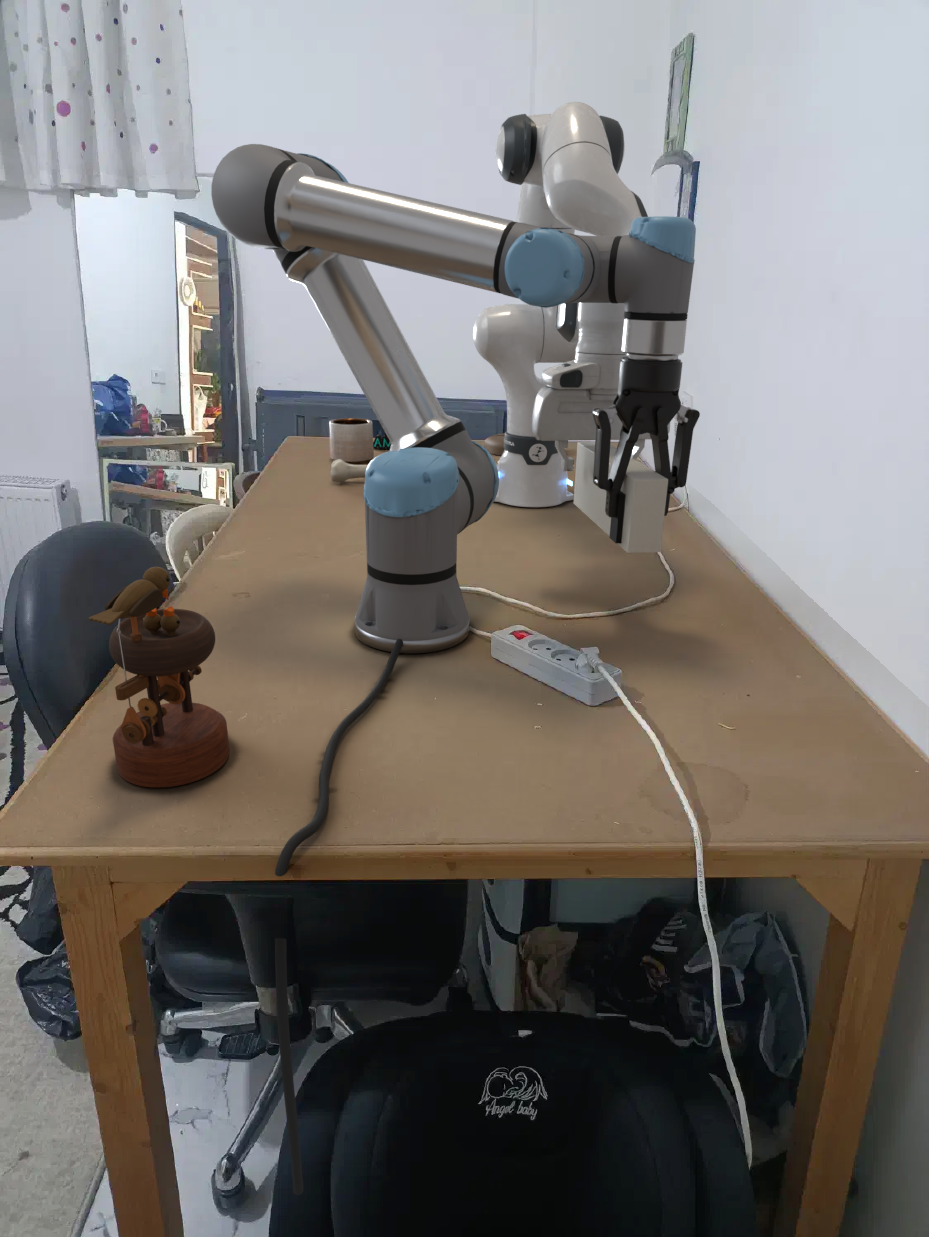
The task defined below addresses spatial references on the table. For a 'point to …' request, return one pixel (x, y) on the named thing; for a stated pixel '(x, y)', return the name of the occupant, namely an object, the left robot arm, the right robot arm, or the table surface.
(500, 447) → the ice cream bar
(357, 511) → the table surface
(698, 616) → the table surface
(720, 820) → the table surface
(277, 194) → the left robot arm
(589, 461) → the bar
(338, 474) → the dog toy
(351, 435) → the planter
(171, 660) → the music box
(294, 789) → the table surface
